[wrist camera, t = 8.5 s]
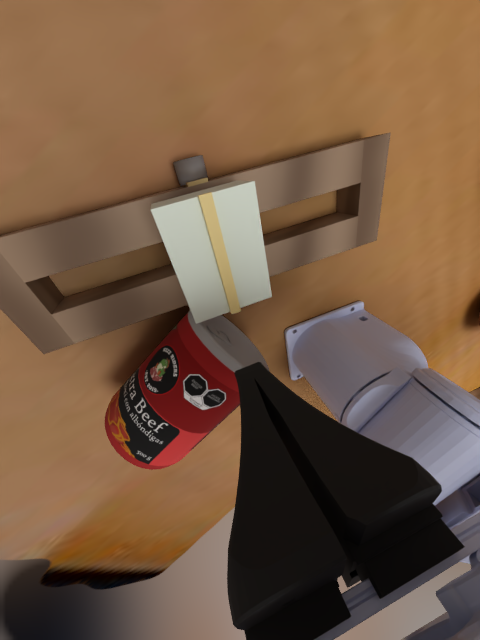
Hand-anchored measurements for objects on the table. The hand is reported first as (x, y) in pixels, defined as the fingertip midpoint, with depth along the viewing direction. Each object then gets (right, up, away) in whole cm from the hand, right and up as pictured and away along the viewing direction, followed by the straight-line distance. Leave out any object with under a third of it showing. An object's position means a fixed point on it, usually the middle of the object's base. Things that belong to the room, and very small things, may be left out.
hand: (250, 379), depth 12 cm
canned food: (-9, -6, +8) cm, 13 cm away
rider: (-3, +9, +5) cm, 11 cm away
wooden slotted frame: (-3, +9, +6) cm, 11 cm away
